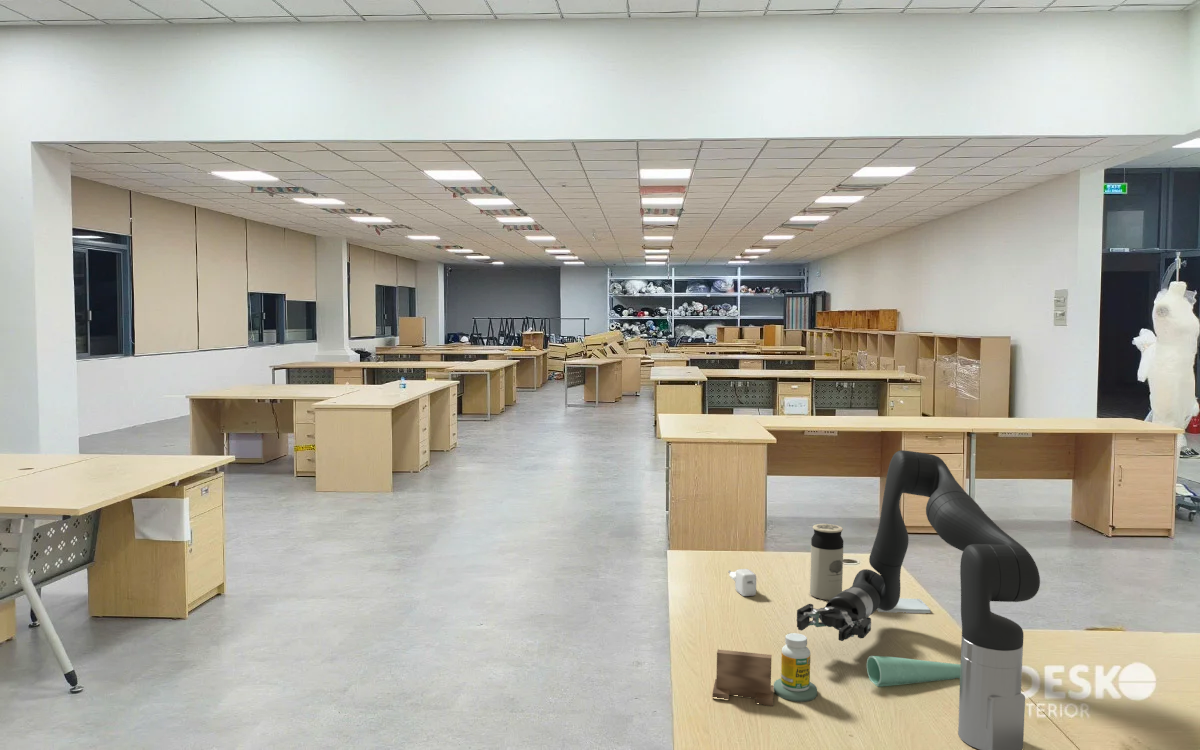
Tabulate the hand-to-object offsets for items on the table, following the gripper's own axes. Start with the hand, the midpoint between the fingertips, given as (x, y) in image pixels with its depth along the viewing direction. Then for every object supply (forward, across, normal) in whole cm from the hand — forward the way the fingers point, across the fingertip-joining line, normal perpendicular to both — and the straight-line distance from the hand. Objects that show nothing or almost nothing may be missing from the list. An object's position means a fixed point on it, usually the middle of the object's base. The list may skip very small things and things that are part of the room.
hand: (819, 630), depth 159 cm
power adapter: (-35, -36, +9) cm, 51 cm away
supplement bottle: (+11, 0, +8) cm, 13 cm away
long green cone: (-12, +19, +9) cm, 24 cm away
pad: (+11, 0, +8) cm, 14 cm away
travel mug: (-45, -17, +9) cm, 49 cm away
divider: (+19, -7, +8) cm, 22 cm away
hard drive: (-49, 0, +9) cm, 50 cm away
